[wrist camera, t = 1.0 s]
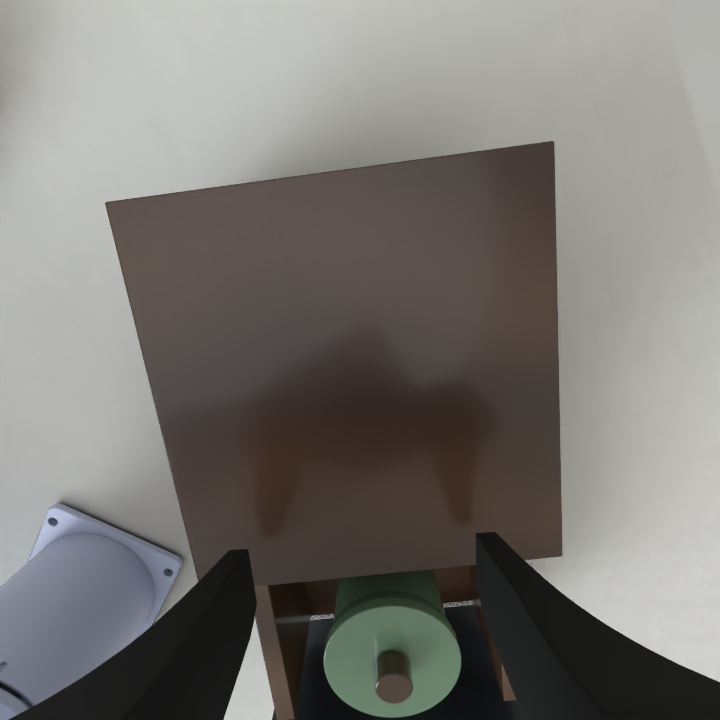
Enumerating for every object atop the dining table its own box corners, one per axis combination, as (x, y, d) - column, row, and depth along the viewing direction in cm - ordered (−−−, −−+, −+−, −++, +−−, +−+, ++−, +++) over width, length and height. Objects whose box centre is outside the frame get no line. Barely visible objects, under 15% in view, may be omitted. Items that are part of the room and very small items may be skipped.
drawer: (499, 674, 26) (545, 816, 19) (305, 691, 26) (285, 836, 20) (483, 418, 22) (534, 487, 16) (257, 444, 23) (212, 520, 16)
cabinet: (492, 450, 24) (562, 556, 15) (257, 476, 24) (200, 592, 16) (477, 189, 20) (555, 140, 12) (208, 224, 21) (103, 202, 13)
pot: (404, 608, 24) (421, 765, 16) (317, 568, 23) (296, 712, 16) (453, 533, 22) (495, 666, 15) (364, 490, 22) (363, 606, 15)
